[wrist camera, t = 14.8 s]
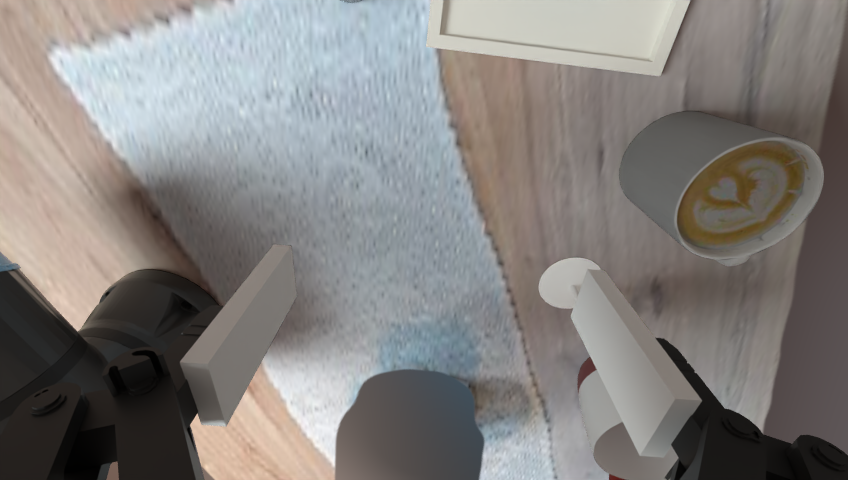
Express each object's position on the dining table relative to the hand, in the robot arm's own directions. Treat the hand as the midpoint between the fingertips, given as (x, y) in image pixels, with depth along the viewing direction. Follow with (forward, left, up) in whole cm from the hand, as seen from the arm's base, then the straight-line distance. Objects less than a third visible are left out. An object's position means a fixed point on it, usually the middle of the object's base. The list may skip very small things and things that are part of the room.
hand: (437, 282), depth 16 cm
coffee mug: (+23, 0, -23) cm, 33 cm away
